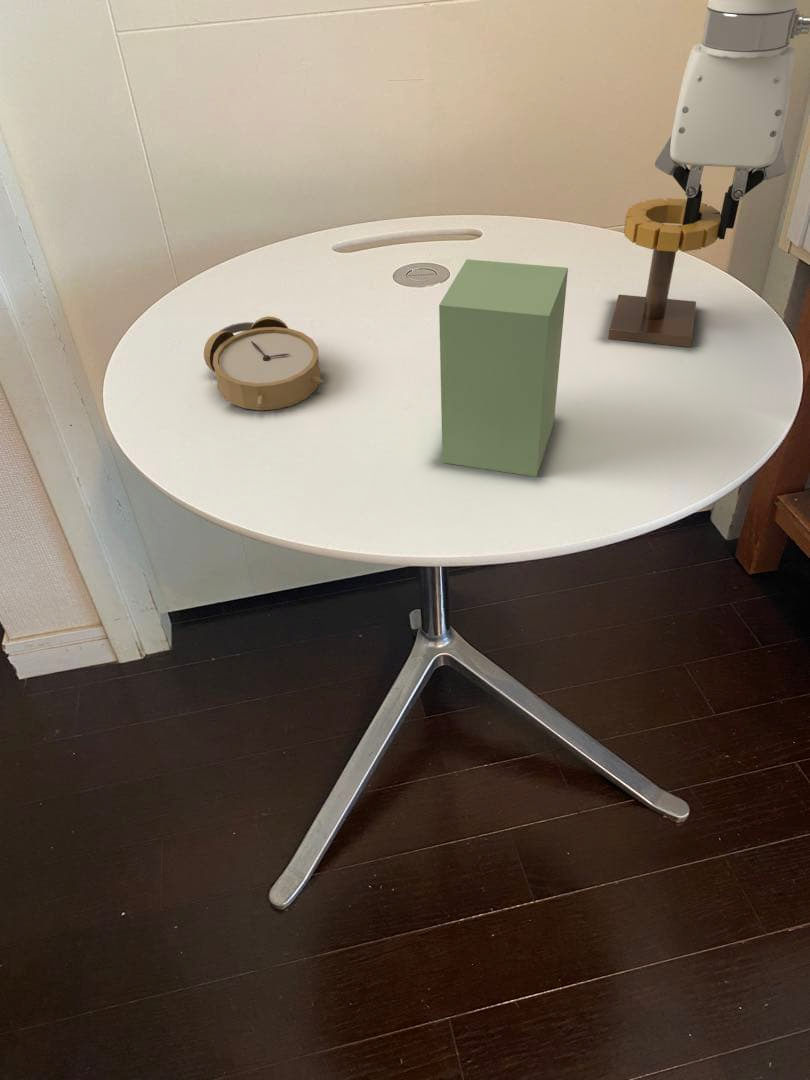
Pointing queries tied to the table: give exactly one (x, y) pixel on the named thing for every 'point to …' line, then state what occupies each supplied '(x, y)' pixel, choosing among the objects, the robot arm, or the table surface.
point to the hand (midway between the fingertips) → (706, 231)
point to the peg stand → (654, 310)
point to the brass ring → (651, 233)
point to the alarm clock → (263, 364)
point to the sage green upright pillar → (500, 364)
